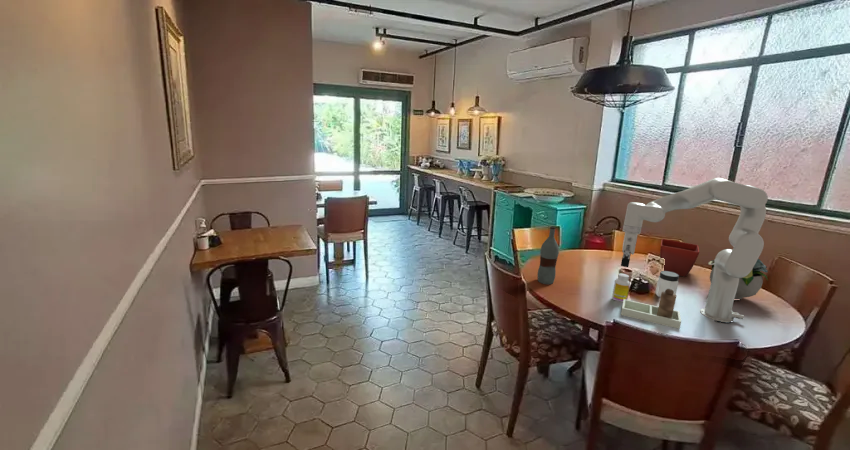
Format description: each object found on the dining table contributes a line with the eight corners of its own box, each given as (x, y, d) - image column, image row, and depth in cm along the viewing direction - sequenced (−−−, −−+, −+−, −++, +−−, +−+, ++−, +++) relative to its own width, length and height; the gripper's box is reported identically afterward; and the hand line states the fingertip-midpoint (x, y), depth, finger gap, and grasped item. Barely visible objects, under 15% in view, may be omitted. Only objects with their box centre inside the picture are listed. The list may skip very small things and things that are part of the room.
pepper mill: (670, 318, 180) (677, 288, 177) (671, 323, 175) (678, 292, 172) (656, 315, 183) (662, 285, 179) (656, 320, 178) (662, 289, 174)
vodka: (554, 286, 212) (562, 229, 205) (535, 283, 215) (543, 227, 208) (554, 279, 221) (562, 225, 214) (537, 277, 224) (544, 223, 216)
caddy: (677, 319, 181) (679, 311, 180) (679, 330, 171) (681, 321, 170) (622, 306, 191) (623, 299, 190) (620, 316, 181) (622, 308, 180)
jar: (663, 299, 203) (668, 277, 200) (651, 293, 210) (655, 271, 207) (678, 299, 205) (683, 276, 202) (666, 292, 212) (670, 270, 210)
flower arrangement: (702, 284, 227) (712, 241, 221) (759, 297, 214) (771, 252, 208) (700, 298, 208) (711, 252, 202) (763, 313, 194) (777, 264, 188)
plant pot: (692, 271, 249) (698, 244, 245) (693, 280, 233) (699, 252, 229) (656, 264, 258) (661, 238, 254) (655, 272, 242) (660, 245, 238)
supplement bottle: (628, 303, 196) (633, 278, 192) (613, 301, 197) (618, 276, 194) (624, 298, 202) (629, 273, 199) (610, 296, 203) (614, 271, 200)
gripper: (640, 234, 182) (633, 270, 186) (641, 226, 197) (634, 260, 201) (622, 231, 185) (615, 267, 189) (624, 224, 200) (617, 257, 204)
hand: (625, 263), depth 195 cm, fingers open, 9 cm apart
